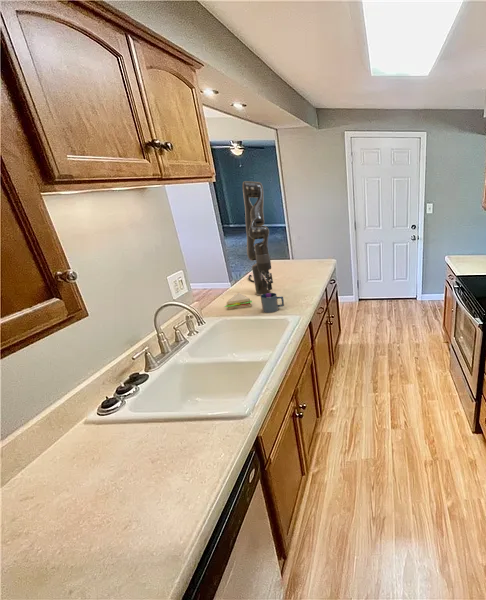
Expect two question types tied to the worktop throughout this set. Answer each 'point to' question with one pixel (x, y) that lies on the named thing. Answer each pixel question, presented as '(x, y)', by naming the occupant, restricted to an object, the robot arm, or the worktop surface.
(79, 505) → the worktop surface
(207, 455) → the worktop surface
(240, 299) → the sandwich
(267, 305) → the mug
